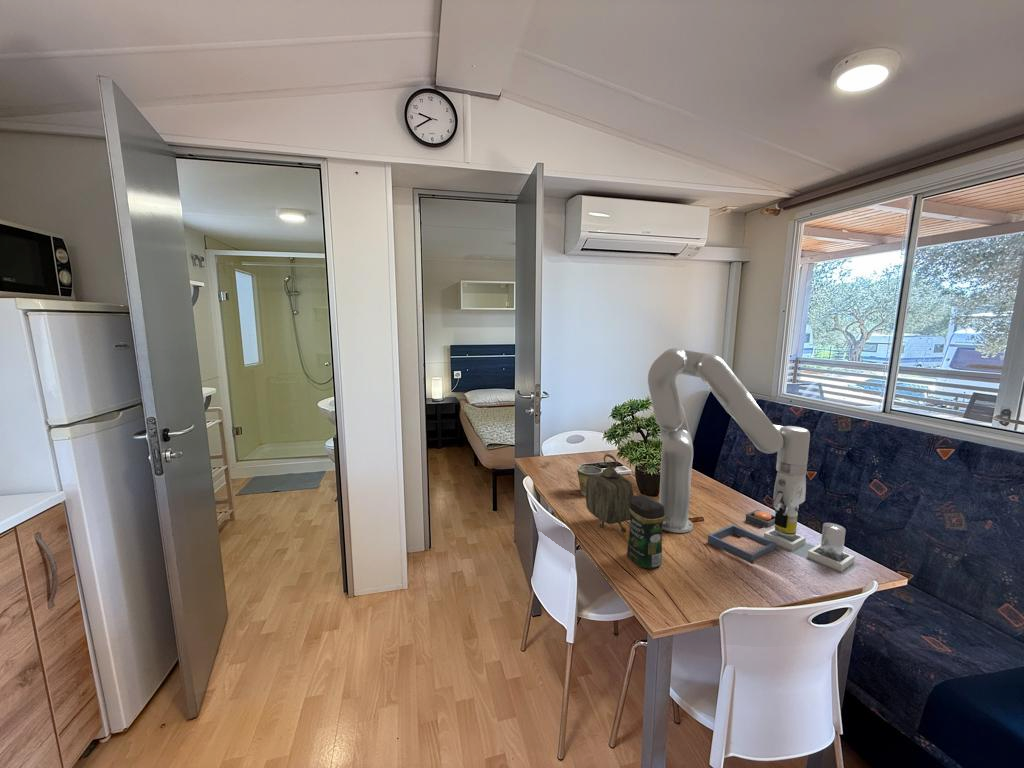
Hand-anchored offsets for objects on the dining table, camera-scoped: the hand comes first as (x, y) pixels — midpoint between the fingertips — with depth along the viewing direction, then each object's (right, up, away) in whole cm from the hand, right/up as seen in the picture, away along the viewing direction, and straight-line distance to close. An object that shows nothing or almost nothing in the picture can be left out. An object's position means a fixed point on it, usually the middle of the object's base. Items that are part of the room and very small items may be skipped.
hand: (785, 523), depth 123 cm
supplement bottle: (0, -3, 0) cm, 3 cm away
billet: (+6, -7, -10) cm, 13 cm away
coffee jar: (-47, -8, -9) cm, 48 cm away
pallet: (+3, -7, -4) cm, 9 cm away
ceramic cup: (-52, -2, +40) cm, 66 cm away
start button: (+2, -4, +15) cm, 15 cm away
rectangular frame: (-14, -7, -1) cm, 16 cm away
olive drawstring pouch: (-53, -5, +11) cm, 54 cm away
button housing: (+2, -5, +15) cm, 16 cm away
